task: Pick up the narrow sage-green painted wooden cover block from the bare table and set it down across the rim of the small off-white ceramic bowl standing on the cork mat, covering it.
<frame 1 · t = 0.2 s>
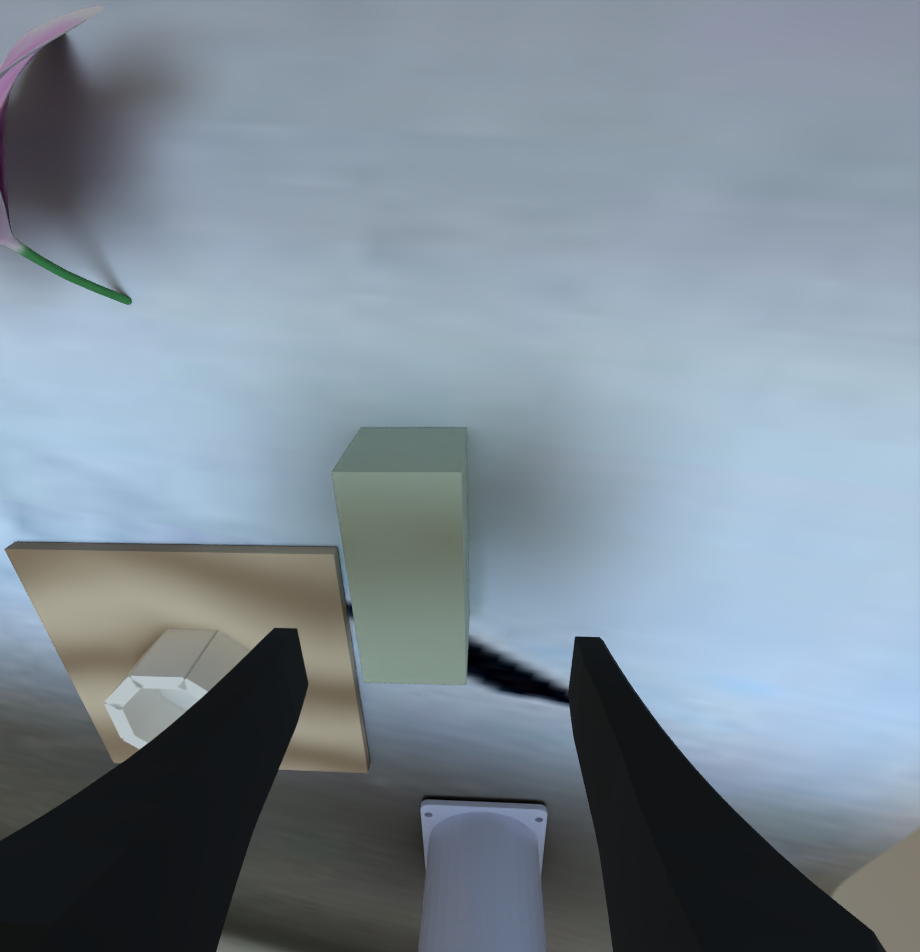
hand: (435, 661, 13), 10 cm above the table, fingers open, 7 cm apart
mat: (212, 665, 27), on the table
lily: (60, 182, 17), on the table
lid: (420, 527, 23), on the table
bowl: (207, 674, 26), resting on mat
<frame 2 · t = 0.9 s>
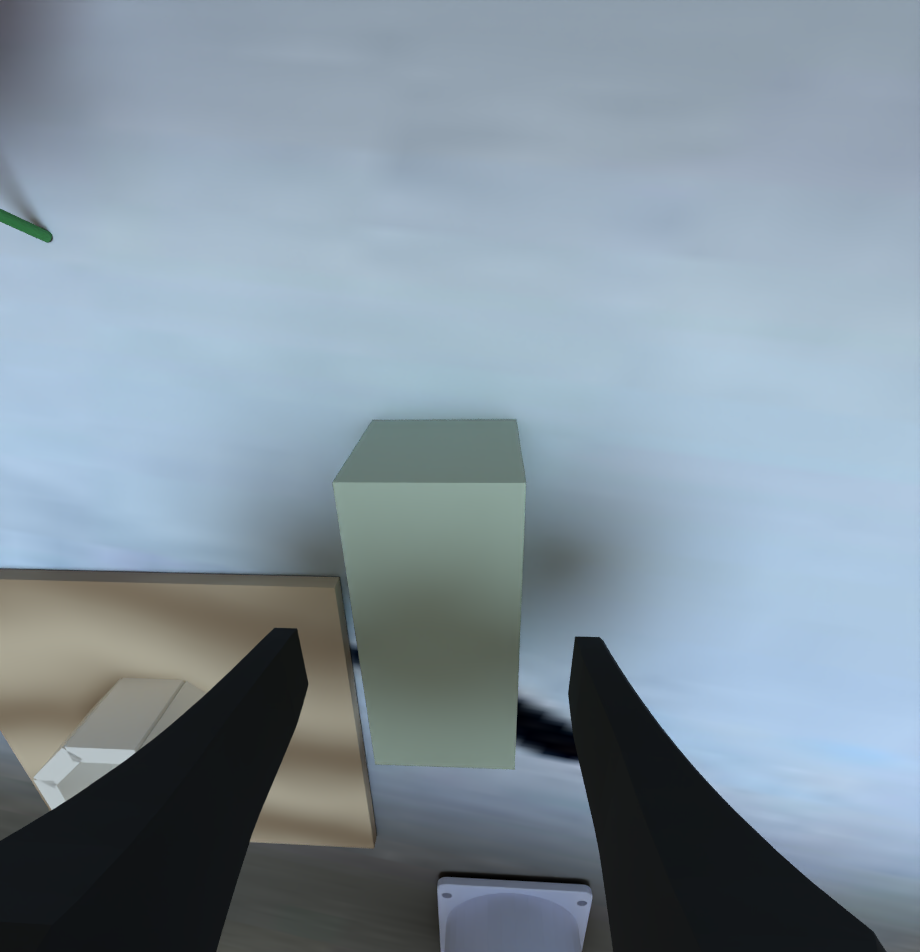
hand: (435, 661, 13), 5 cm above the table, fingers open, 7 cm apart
mat: (181, 720, 22), on the table
lid: (449, 552, 17), on the table
bowl: (173, 732, 21), resting on mat
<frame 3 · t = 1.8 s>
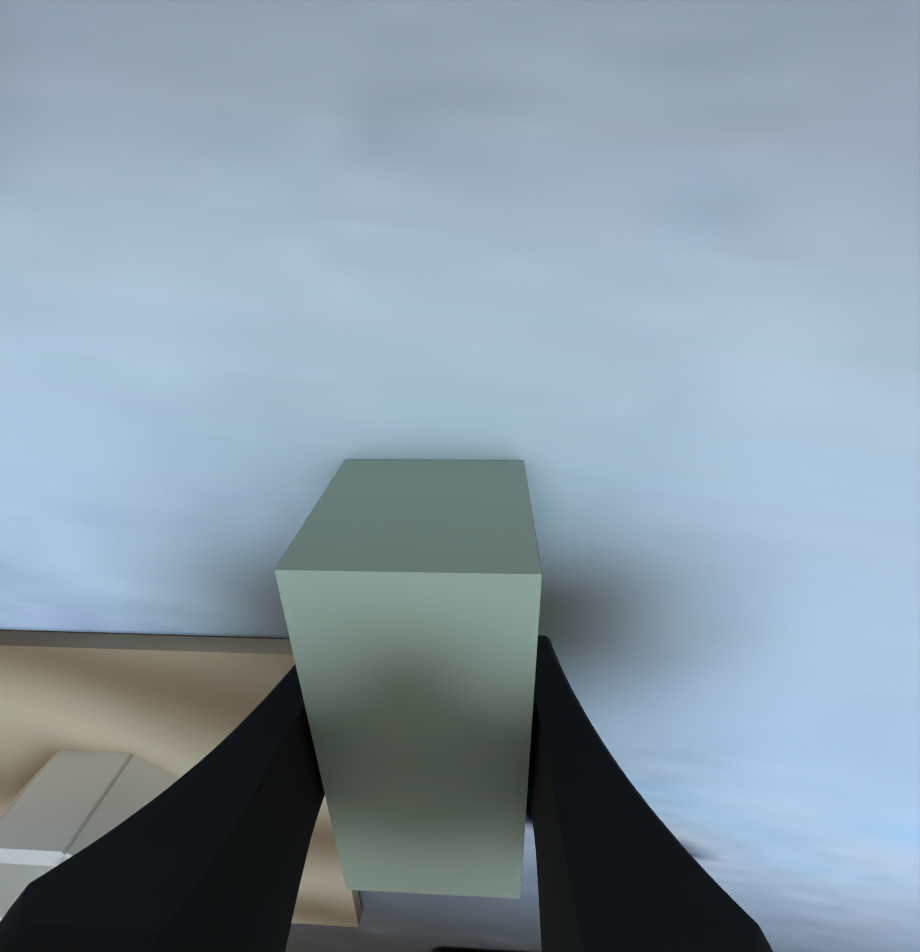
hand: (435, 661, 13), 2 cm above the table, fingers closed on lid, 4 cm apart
mat: (134, 791, 19), on the table
lid: (440, 617, 14), on the table, touching gripper
bowl: (124, 807, 18), resting on mat
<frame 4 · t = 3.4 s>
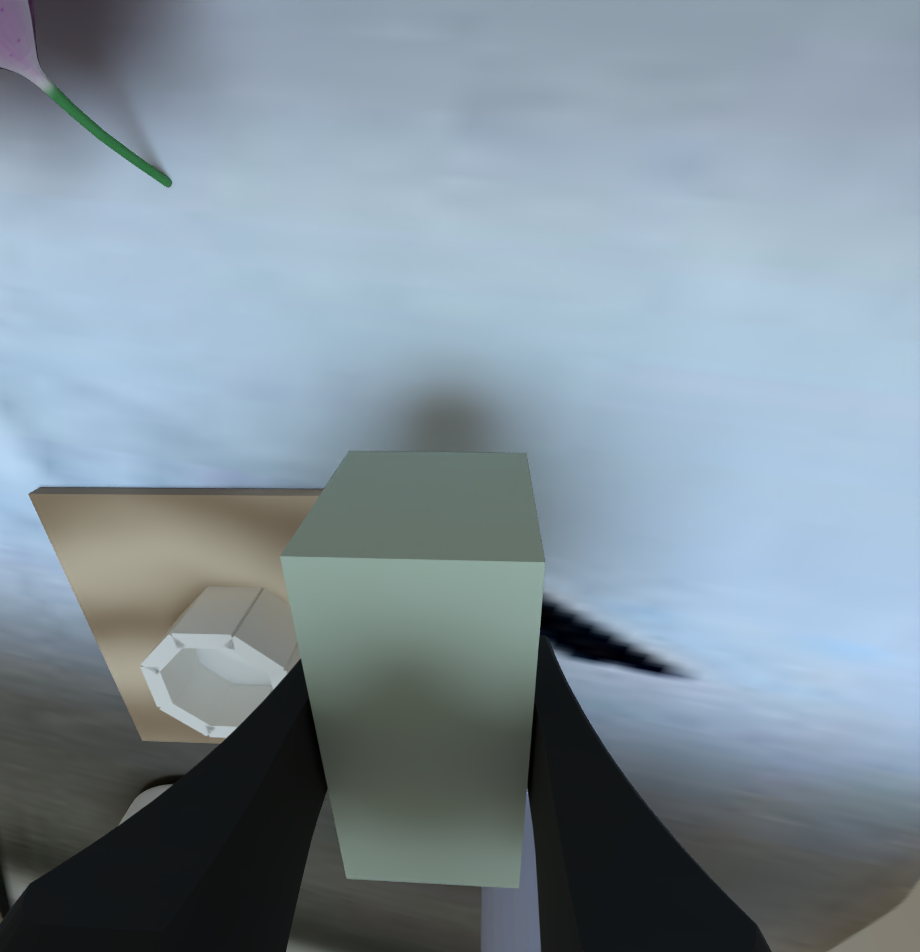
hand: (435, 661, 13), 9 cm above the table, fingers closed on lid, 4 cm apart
mat: (254, 629, 25), on the table
lily: (90, 32, 15), on the table
lid: (441, 609, 14), point 7 cm above the table, touching gripper
beverage can: (202, 809, 32), on the table
bowl: (249, 638, 24), resting on mat
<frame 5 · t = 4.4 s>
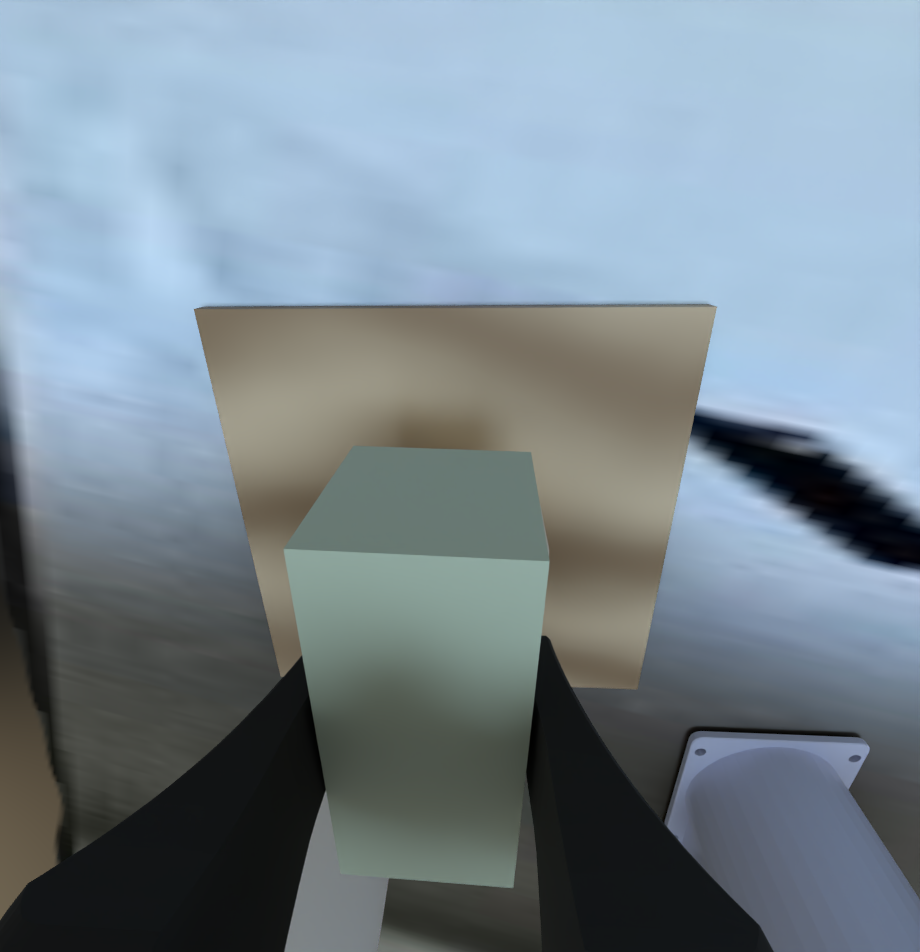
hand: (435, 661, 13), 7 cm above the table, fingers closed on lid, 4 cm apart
mat: (453, 522, 19), on the table
lid: (442, 607, 14), point 5 cm above the table, touching gripper
beverage can: (329, 771, 27), on the table
when the fingers open (6 cm above the table, at t = 5.0 s): lid stays where it is, resting on bowl.
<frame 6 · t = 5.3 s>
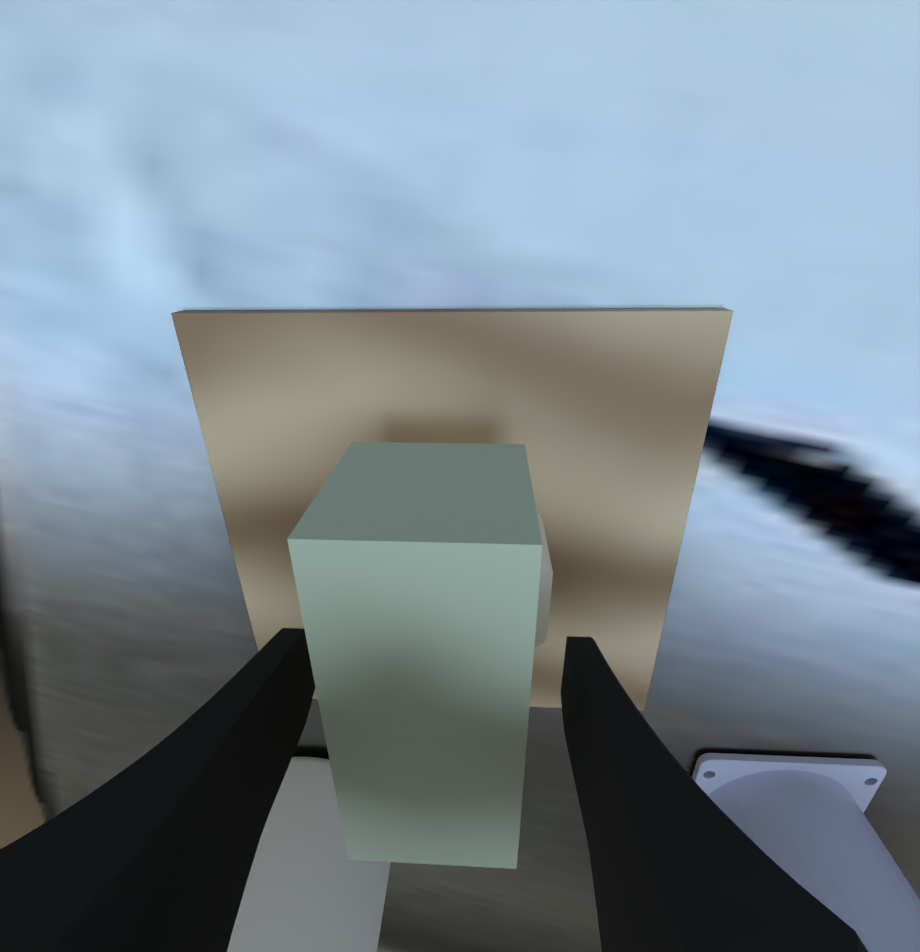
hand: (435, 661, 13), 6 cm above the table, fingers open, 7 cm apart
mat: (450, 538, 18), on the table
lid: (442, 598, 15), point 4 cm above the table, touching bowl
beverage can: (322, 792, 25), on the table
bowl: (449, 547, 17), resting on mat
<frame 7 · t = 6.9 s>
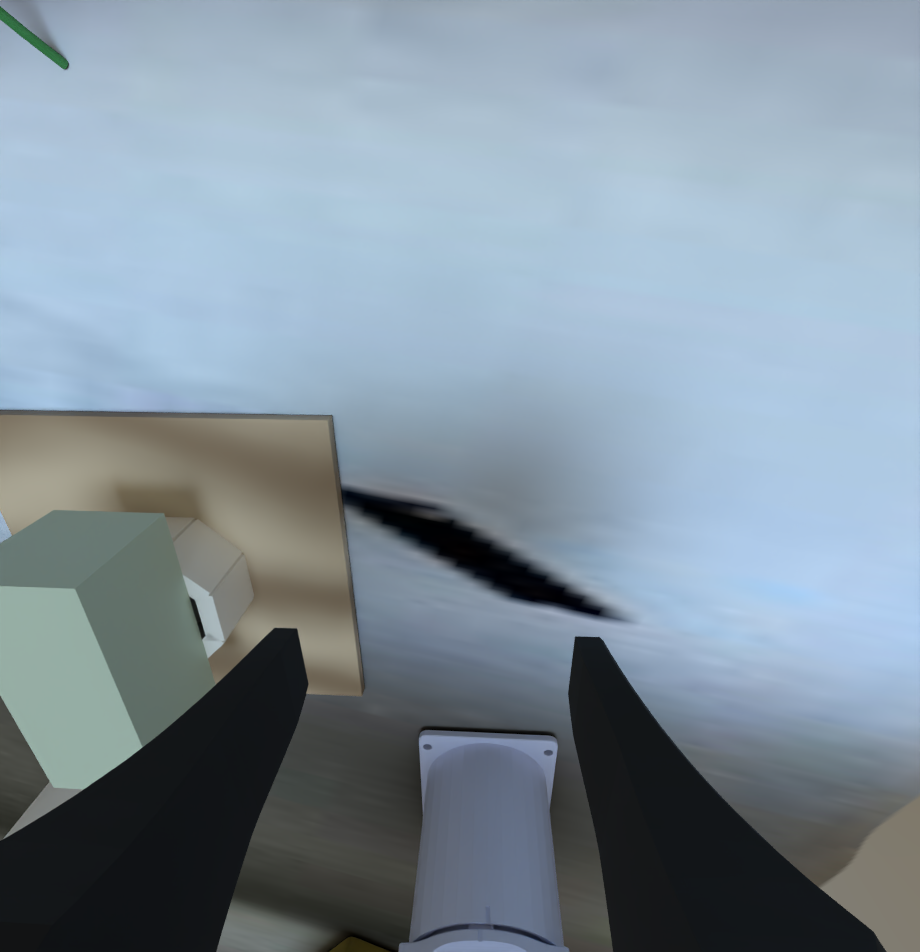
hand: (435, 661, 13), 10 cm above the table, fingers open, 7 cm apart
flower pot: (362, 949, 42), on the table
mat: (191, 566, 24), on the table
lid: (144, 612, 21), point 4 cm above the table, touching bowl
beverage can: (148, 762, 32), on the table
bowl: (185, 573, 24), resting on mat
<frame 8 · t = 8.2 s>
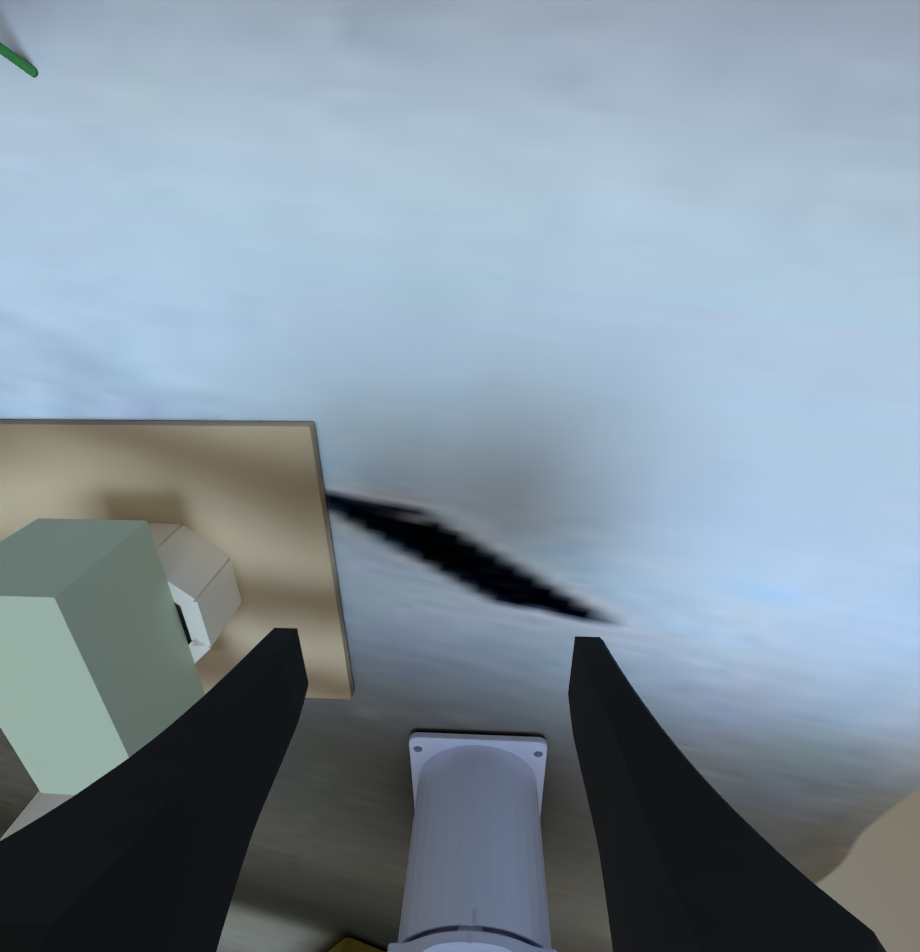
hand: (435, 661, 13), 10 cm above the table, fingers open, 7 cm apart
flower pot: (359, 950, 42), on the table
mat: (179, 571, 25), on the table
lid: (131, 618, 21), point 4 cm above the table, touching bowl
beverage can: (141, 765, 32), on the table
bowl: (172, 579, 24), resting on mat
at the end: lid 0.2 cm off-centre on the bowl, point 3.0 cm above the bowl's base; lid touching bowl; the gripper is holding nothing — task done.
